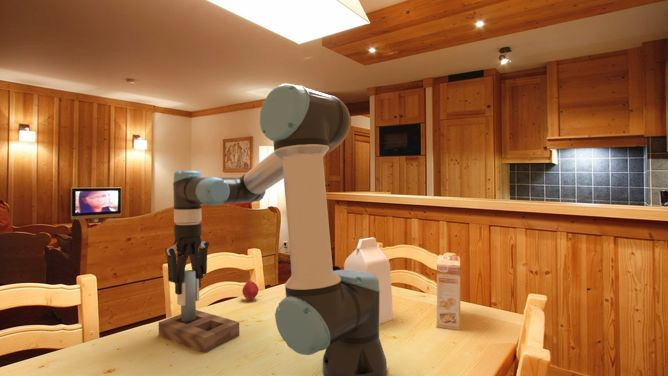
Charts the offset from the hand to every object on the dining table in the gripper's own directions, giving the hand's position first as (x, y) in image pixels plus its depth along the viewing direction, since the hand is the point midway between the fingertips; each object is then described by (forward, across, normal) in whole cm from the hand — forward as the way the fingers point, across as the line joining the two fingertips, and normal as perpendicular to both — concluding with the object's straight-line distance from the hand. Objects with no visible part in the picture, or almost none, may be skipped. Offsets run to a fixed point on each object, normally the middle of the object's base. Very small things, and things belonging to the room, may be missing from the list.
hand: (188, 302), depth 105 cm
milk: (+9, -37, +41) cm, 56 cm away
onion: (+9, -30, -4) cm, 32 cm away
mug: (+9, -57, +14) cm, 59 cm away
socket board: (+9, 0, +5) cm, 10 cm away
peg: (+5, 0, 0) cm, 5 cm away
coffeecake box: (+9, -49, +64) cm, 81 cm away
